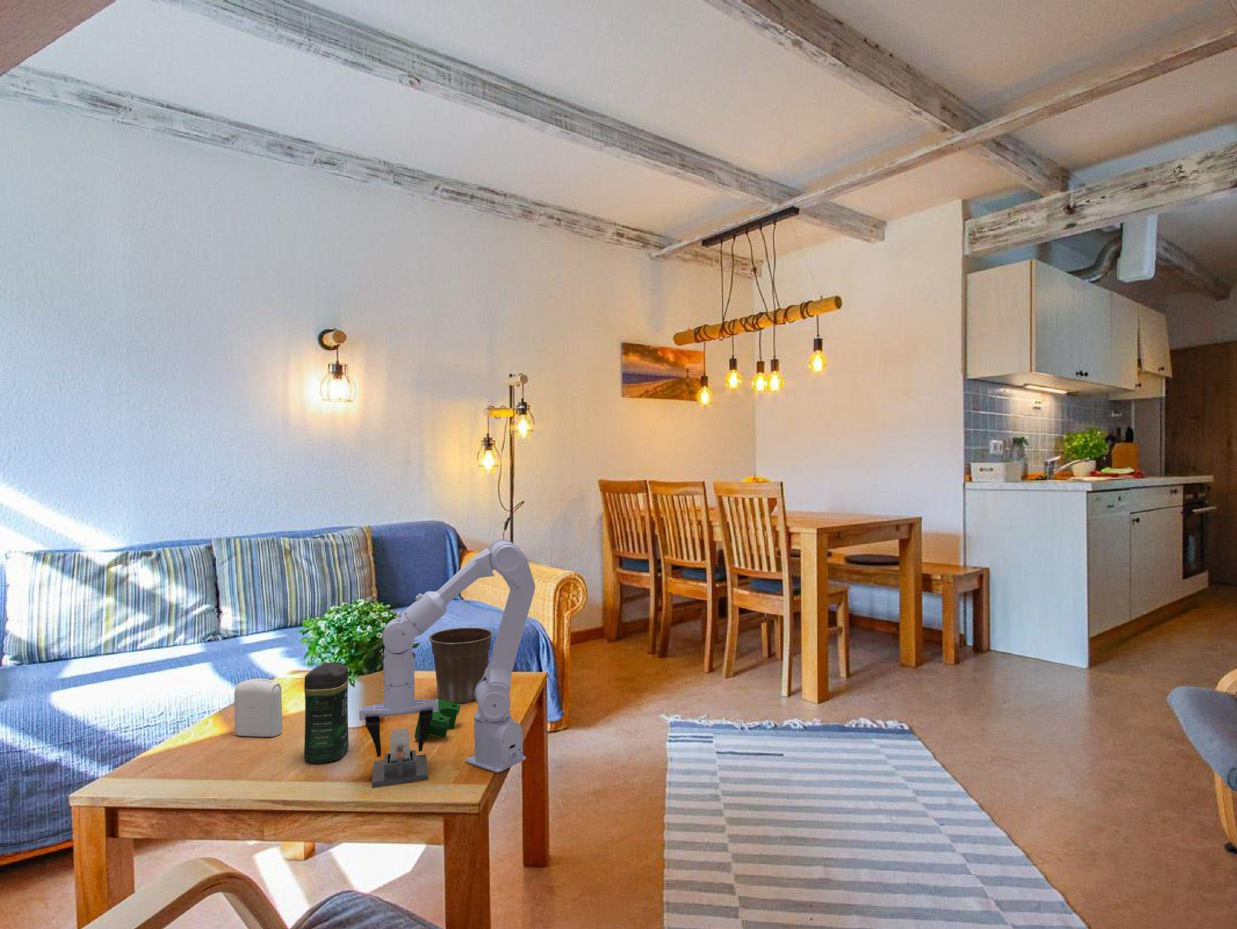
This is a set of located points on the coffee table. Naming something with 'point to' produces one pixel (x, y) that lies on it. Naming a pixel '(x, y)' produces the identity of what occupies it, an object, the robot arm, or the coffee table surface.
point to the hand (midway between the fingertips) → (399, 752)
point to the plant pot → (460, 661)
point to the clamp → (441, 720)
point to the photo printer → (258, 708)
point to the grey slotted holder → (399, 770)
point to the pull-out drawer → (400, 745)
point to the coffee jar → (326, 713)
